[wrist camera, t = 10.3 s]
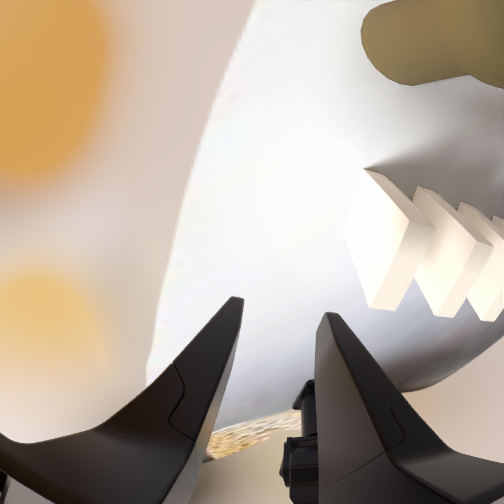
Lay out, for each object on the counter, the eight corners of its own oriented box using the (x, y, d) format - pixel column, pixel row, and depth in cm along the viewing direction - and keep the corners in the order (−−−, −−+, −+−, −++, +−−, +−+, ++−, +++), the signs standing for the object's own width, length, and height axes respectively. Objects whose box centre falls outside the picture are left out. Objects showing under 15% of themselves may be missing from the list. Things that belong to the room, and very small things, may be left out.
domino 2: (434, 191, 18) (494, 247, 11) (410, 248, 21) (453, 317, 14) (417, 185, 18) (476, 241, 11) (394, 244, 21) (434, 315, 14)
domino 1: (383, 174, 18) (436, 228, 11) (362, 237, 21) (394, 311, 14) (362, 168, 18) (409, 220, 11) (342, 233, 21) (369, 307, 14)
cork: (443, 21, 11) (556, 5, 2) (437, 96, 15) (557, 129, 5) (362, -8, 11) (443, -77, 2) (356, 72, 15) (451, 63, 5)
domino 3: (473, 206, 18) (531, 260, 11) (450, 257, 21) (494, 321, 14) (460, 201, 18) (519, 256, 11) (437, 254, 21) (481, 320, 14)
